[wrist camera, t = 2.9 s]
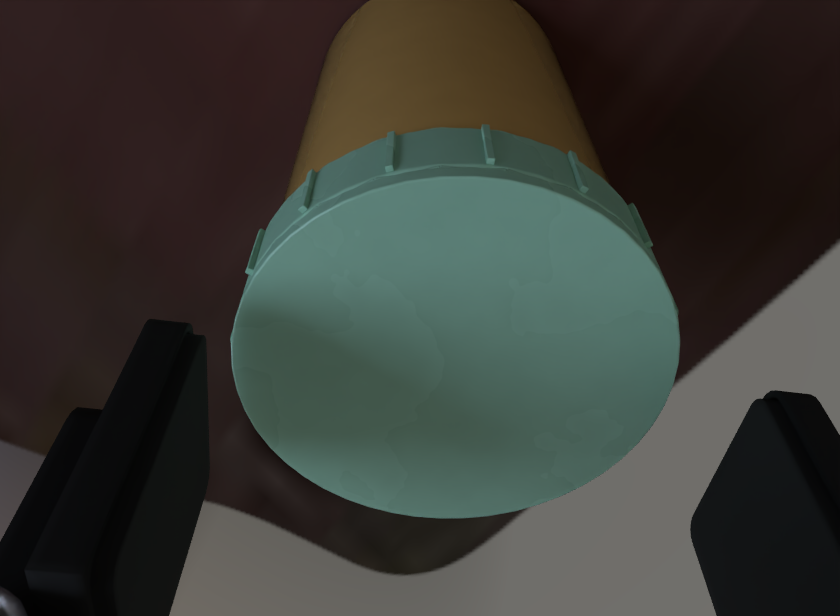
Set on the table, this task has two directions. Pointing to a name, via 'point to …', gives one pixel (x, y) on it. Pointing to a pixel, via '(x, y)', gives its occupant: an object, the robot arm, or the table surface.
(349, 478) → the lid
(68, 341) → the table surface
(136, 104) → the table surface
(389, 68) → the jam jar
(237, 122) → the table surface
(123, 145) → the table surface
